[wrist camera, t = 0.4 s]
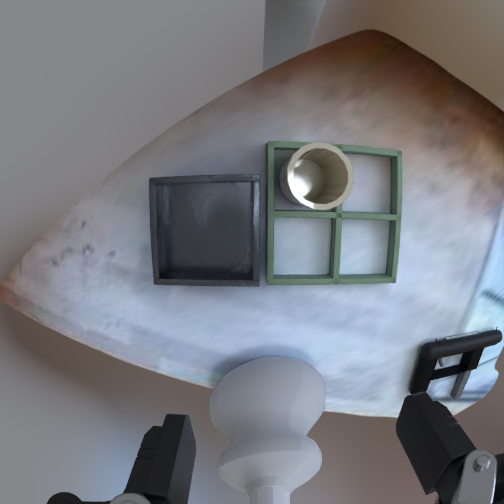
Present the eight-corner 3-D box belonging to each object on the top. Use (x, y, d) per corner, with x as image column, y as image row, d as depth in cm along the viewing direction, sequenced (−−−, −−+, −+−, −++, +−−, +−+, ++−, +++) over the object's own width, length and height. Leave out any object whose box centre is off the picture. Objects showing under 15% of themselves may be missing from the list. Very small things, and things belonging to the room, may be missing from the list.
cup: (278, 154, 38) (286, 140, 27) (327, 156, 38) (353, 144, 27) (278, 204, 39) (286, 209, 28) (327, 205, 39) (352, 211, 28)
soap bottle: (309, 330, 42) (367, 502, 14) (324, 387, 45) (370, 542, 16) (202, 358, 44) (151, 525, 15) (227, 411, 46) (208, 564, 17)
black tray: (159, 178, 39) (149, 177, 35) (259, 176, 38) (259, 174, 34) (162, 276, 41) (153, 284, 37) (259, 277, 41) (259, 286, 37)
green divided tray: (267, 143, 37) (267, 141, 36) (395, 152, 37) (402, 151, 35) (266, 280, 41) (266, 284, 39) (390, 278, 41) (395, 282, 39)
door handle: (480, 393, 43) (506, 327, 39) (405, 415, 43) (429, 343, 39) (473, 385, 46) (496, 320, 42) (399, 404, 47) (421, 334, 42)
